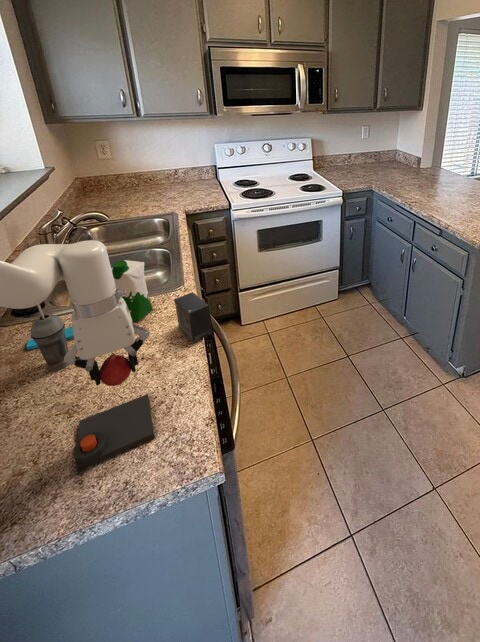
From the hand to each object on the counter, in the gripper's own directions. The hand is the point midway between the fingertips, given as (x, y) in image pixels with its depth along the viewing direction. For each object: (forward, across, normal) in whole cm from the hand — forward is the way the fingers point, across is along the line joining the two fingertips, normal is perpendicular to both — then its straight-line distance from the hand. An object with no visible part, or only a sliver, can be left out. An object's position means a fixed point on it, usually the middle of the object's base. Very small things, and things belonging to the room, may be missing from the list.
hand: (116, 373), depth 76 cm
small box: (+14, -20, -24) cm, 34 cm away
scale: (+14, +2, +2) cm, 14 cm away
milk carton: (+14, -4, -44) cm, 46 cm away
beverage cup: (+14, +16, -30) cm, 36 cm away
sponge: (+14, +18, -44) cm, 49 cm away
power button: (+11, +7, +5) cm, 14 cm away
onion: (+3, 0, 0) cm, 3 cm away
